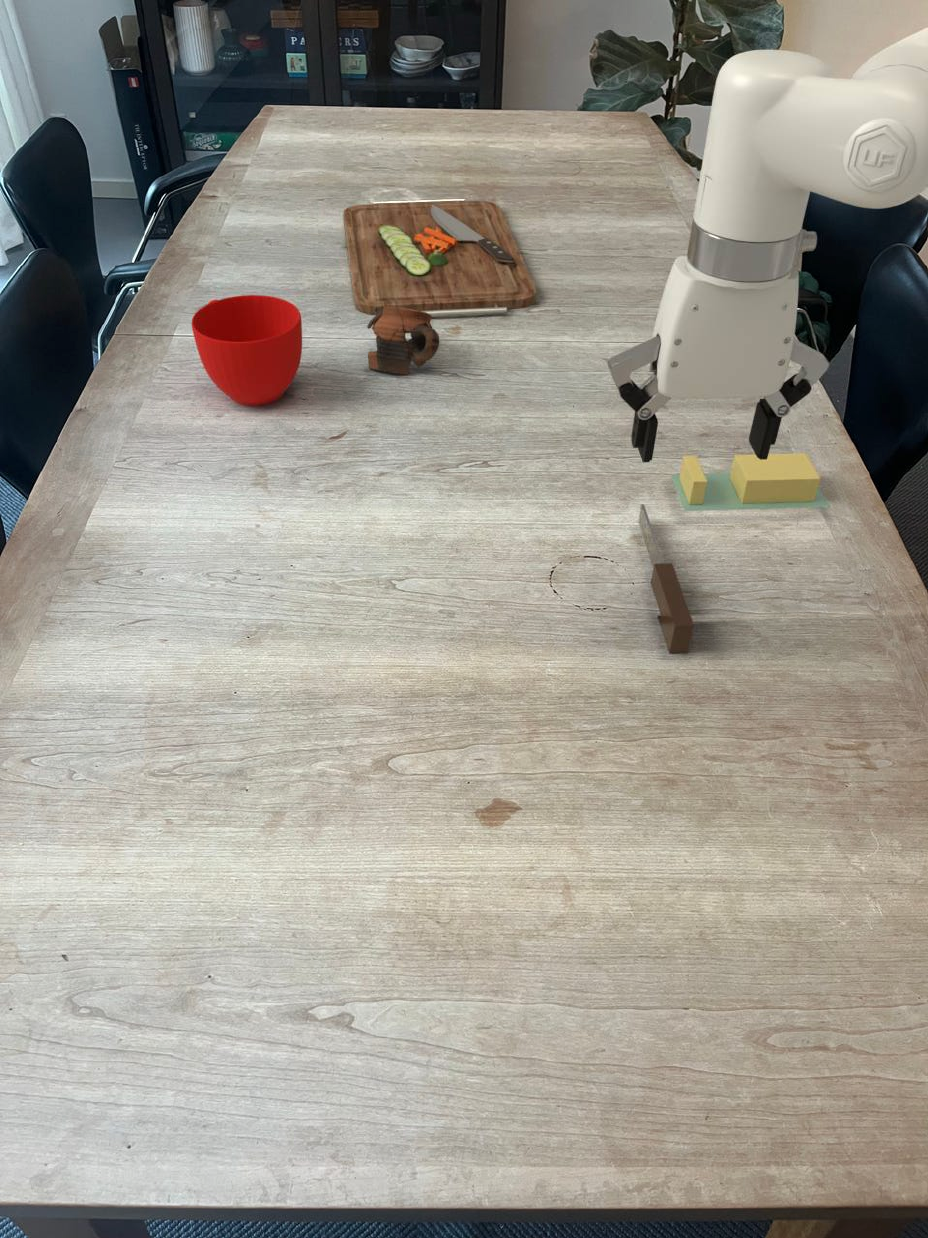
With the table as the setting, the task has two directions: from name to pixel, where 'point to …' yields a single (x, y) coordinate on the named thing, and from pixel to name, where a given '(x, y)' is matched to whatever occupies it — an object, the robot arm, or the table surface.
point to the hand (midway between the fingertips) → (700, 452)
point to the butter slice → (693, 480)
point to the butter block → (774, 478)
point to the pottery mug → (401, 339)
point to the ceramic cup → (249, 346)
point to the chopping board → (435, 258)
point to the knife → (667, 594)
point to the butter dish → (734, 496)
